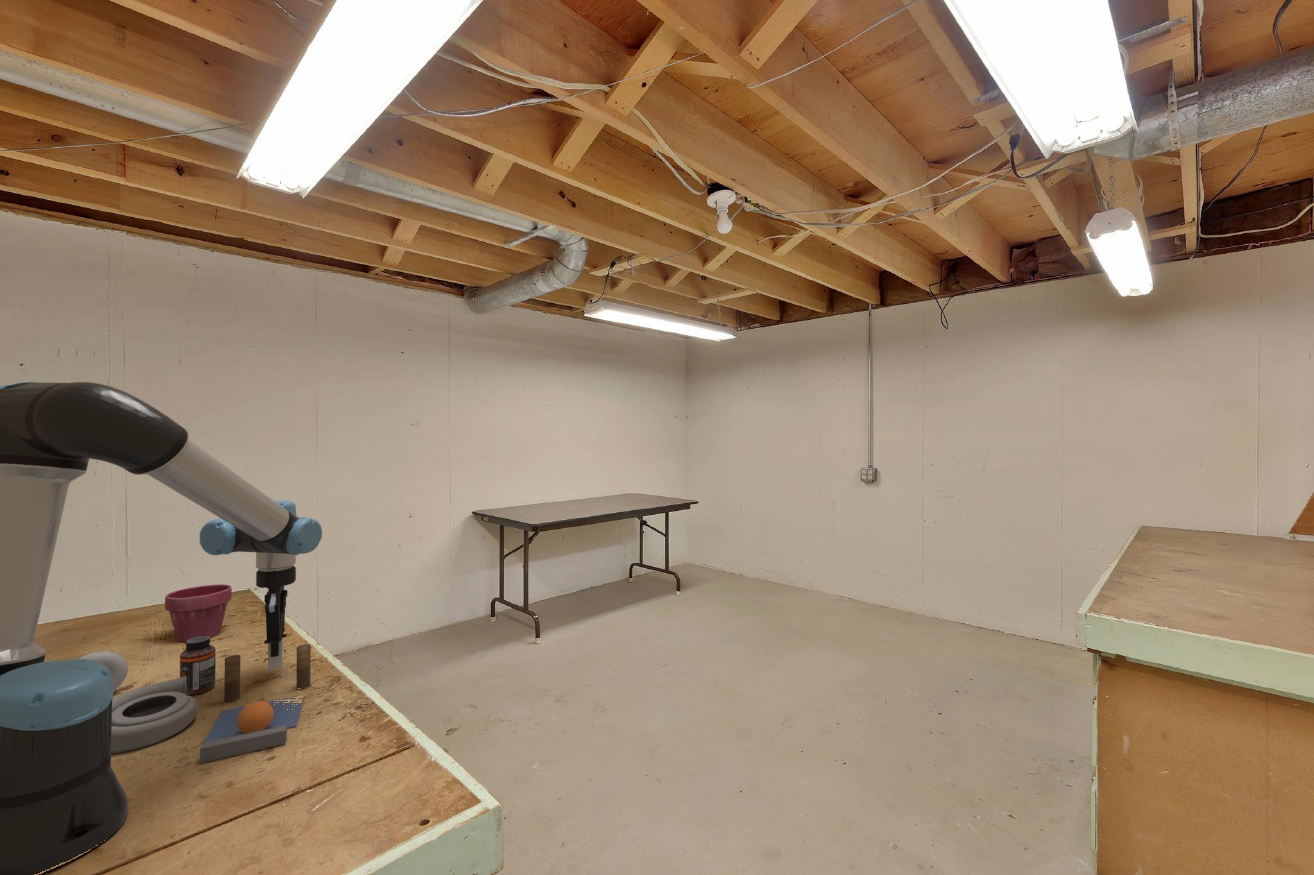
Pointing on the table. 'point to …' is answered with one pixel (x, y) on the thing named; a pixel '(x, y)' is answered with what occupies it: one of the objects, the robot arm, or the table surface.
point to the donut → (111, 665)
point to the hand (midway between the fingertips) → (275, 668)
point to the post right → (303, 666)
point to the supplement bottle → (198, 665)
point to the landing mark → (281, 717)
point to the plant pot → (198, 610)
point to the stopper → (242, 744)
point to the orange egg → (255, 717)
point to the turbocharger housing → (150, 714)
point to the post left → (232, 678)
